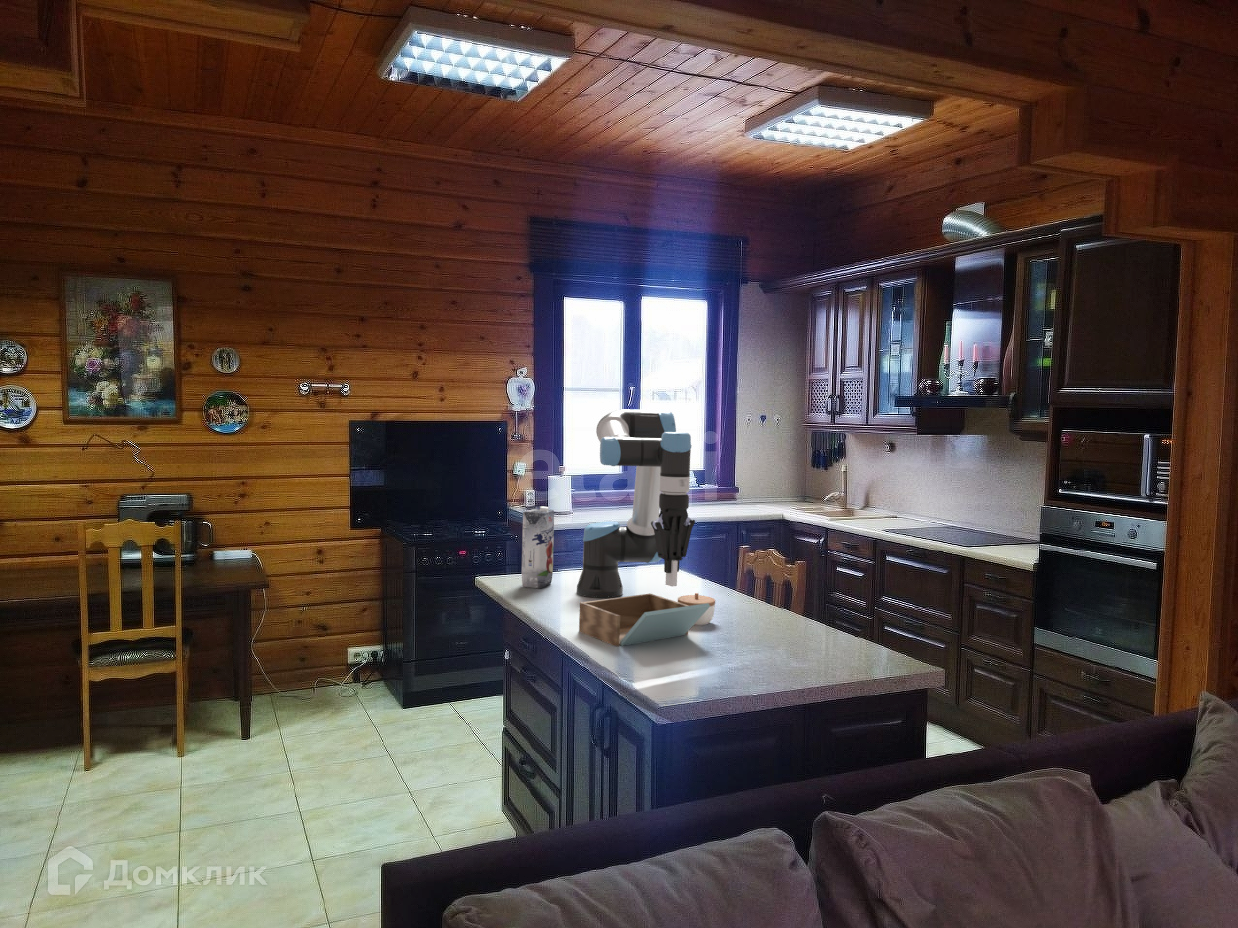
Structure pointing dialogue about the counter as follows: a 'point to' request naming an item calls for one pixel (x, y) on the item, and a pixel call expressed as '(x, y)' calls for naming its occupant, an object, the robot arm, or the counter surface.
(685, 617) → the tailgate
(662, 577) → the counter surface
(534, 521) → the juice carton
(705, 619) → the lidded jar
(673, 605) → the open wooden tray
